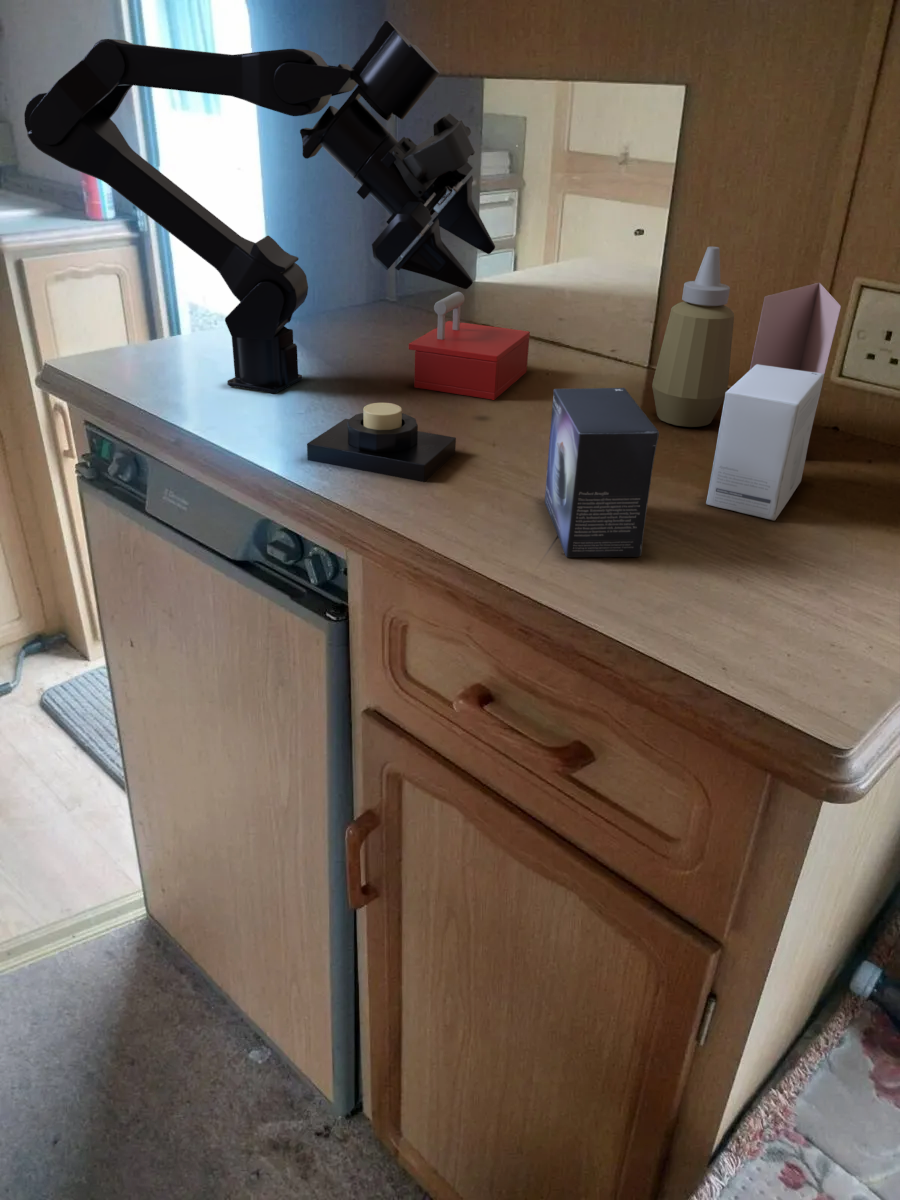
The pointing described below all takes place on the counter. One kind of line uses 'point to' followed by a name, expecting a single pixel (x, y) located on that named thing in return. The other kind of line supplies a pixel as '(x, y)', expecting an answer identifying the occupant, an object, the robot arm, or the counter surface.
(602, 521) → the small box
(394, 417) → the button
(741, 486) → the cosmetics box
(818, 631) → the counter surface
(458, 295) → the door
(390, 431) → the button housing
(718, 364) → the squeeze bottle
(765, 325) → the greeting card
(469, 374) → the box
